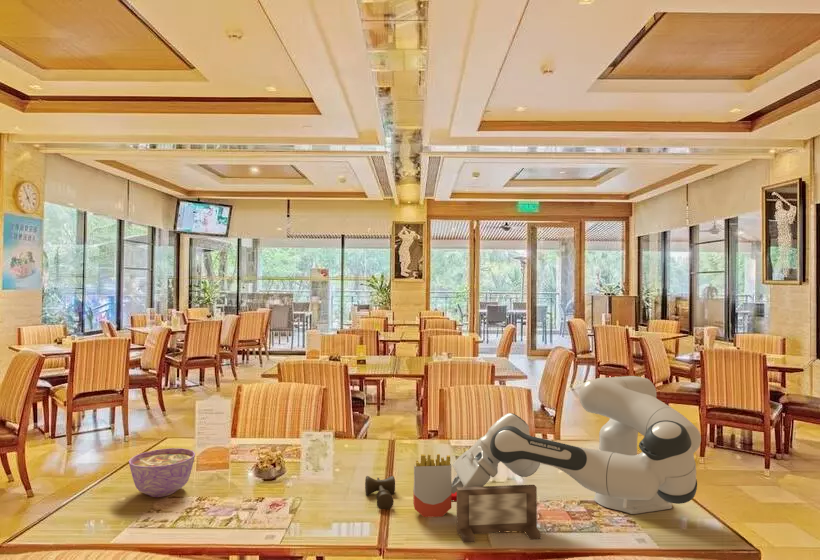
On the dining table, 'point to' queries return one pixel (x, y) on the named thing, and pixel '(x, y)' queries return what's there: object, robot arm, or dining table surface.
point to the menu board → (497, 510)
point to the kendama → (381, 490)
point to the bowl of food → (161, 470)
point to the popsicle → (454, 496)
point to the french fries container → (432, 486)
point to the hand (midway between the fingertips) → (450, 490)
